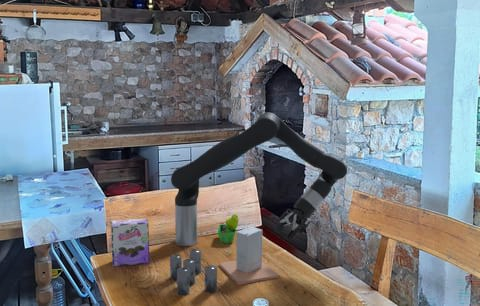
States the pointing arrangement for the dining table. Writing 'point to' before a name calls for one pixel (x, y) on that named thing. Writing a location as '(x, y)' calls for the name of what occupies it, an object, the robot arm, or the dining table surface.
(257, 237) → the skincare box
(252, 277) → the terracotta tile
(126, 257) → the candy box
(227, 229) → the potted cactus
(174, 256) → the posts
